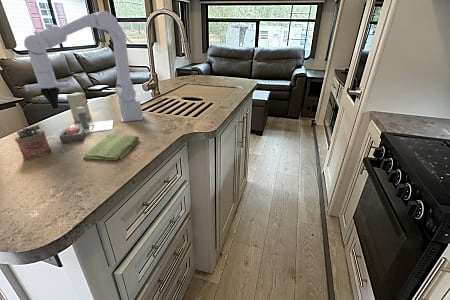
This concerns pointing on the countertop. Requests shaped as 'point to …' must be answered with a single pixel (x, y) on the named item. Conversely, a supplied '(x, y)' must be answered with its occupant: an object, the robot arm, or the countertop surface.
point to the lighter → (32, 143)
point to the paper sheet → (96, 126)
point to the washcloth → (112, 147)
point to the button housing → (72, 136)
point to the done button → (71, 130)
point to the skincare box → (78, 104)
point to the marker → (82, 117)
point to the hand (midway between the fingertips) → (56, 107)
